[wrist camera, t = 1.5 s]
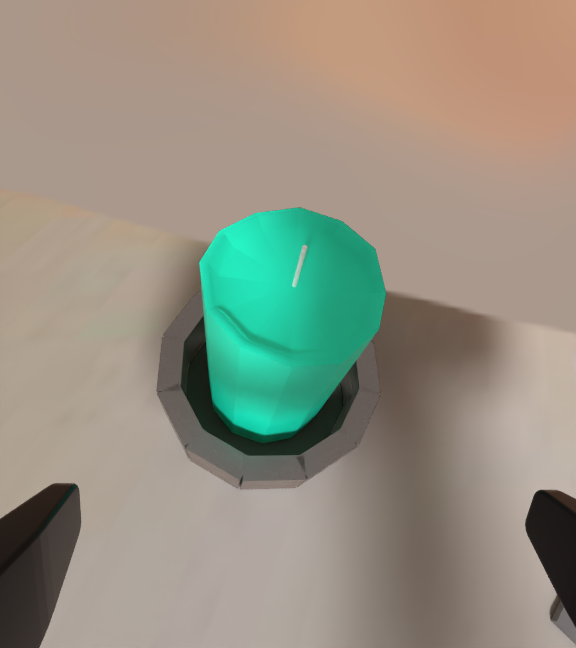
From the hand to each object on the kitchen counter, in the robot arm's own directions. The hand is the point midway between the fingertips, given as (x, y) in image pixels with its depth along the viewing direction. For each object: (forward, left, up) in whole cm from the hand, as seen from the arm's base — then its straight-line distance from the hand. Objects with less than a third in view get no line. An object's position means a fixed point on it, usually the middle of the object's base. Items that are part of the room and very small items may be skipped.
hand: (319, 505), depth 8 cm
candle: (+6, +3, -13) cm, 14 cm away
